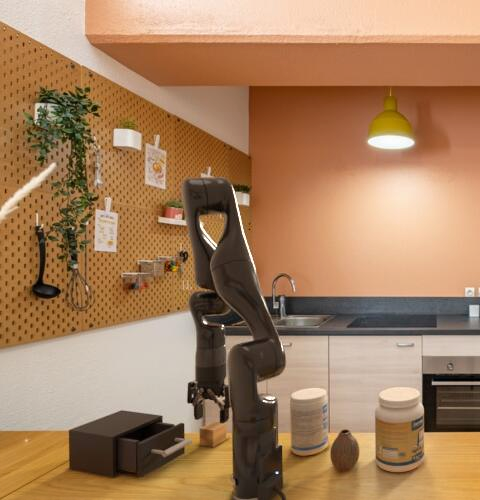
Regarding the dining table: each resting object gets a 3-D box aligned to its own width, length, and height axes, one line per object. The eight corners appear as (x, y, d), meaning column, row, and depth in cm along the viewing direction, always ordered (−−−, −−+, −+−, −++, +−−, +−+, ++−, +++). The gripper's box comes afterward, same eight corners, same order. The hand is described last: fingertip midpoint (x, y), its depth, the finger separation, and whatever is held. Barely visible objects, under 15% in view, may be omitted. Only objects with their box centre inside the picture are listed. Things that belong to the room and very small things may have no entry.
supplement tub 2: (423, 474, 95) (423, 402, 95) (371, 475, 95) (371, 403, 95) (425, 448, 107) (424, 385, 107) (379, 449, 107) (378, 385, 107)
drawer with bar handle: (199, 455, 103) (199, 425, 103) (157, 480, 92) (157, 446, 92) (145, 446, 108) (144, 417, 108) (98, 469, 97) (98, 436, 97)
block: (226, 439, 114) (226, 423, 114) (213, 447, 109) (212, 430, 109) (213, 437, 115) (213, 421, 115) (199, 445, 111) (199, 428, 111)
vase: (364, 461, 101) (364, 426, 101) (351, 476, 94) (350, 439, 94) (339, 458, 103) (339, 423, 103) (324, 472, 96) (324, 435, 96)
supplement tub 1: (332, 450, 107) (332, 395, 107) (295, 461, 102) (295, 402, 102) (321, 436, 115) (321, 385, 115) (286, 445, 110) (286, 391, 110)
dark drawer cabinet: (163, 451, 107) (162, 415, 107) (113, 477, 95) (112, 437, 95) (122, 444, 111) (121, 410, 111) (69, 469, 99) (68, 429, 99)
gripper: (178, 364, 110) (179, 423, 110) (221, 368, 106) (221, 429, 107) (201, 356, 117) (201, 412, 118) (242, 360, 114) (242, 417, 114)
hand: (211, 420), depth 112 cm, fingers open, 8 cm apart
